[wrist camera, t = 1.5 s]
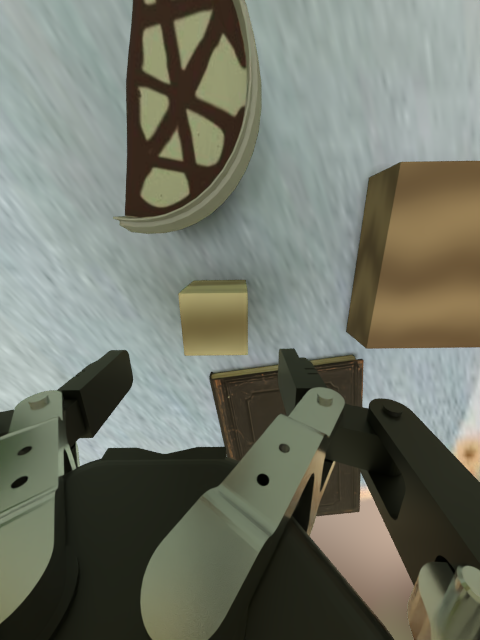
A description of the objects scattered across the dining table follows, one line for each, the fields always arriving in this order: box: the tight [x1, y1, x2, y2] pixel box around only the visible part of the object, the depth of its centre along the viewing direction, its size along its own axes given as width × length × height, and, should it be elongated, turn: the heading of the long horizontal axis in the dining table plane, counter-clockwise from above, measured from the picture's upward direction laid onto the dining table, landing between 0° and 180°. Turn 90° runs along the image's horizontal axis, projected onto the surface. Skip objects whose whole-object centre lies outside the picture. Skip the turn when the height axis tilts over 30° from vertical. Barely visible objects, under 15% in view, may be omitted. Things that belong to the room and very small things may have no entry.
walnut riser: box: [346, 161, 480, 349], centre depth 20 cm, size 14×14×4 cm
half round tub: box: [113, 0, 261, 234], centre depth 14 cm, size 12×6×10 cm, turn 168°
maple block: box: [178, 280, 248, 356], centre depth 20 cm, size 5×5×6 cm
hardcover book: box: [210, 355, 363, 516], centre depth 28 cm, size 16×23×2 cm
